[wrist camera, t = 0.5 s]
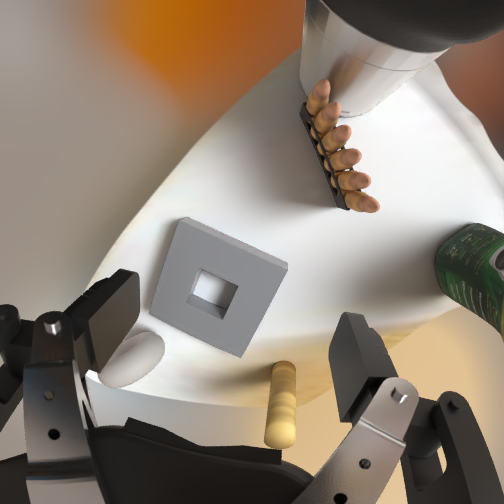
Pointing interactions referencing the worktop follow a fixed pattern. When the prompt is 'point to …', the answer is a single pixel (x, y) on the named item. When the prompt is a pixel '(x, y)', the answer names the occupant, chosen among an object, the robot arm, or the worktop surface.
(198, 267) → the socket block
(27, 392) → the robot arm
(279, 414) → the dowel
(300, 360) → the worktop surface
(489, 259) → the coffee jar
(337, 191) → the ammunition clip
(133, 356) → the donut
